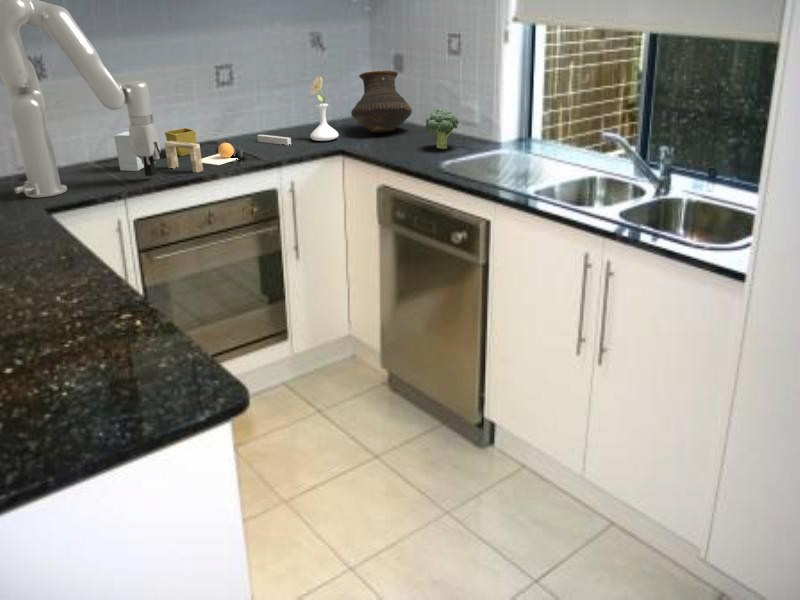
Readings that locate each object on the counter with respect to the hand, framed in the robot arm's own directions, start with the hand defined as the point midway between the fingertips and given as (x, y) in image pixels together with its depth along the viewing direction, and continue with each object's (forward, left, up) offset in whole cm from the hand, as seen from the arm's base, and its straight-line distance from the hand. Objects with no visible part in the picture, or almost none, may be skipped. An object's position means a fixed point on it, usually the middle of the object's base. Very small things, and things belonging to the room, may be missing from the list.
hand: (150, 175), depth 263 cm
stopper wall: (+61, 0, -2) cm, 61 cm away
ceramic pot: (+93, -30, -2) cm, 98 cm away
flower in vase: (+73, -16, -2) cm, 75 cm away
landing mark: (+31, 0, -2) cm, 31 cm away
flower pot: (+31, +19, -2) cm, 36 cm away
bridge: (+15, 0, -2) cm, 15 cm away
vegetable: (+79, -67, -2) cm, 104 cm away
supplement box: (+8, +19, -2) cm, 21 cm away
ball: (+34, -1, +1) cm, 34 cm away
